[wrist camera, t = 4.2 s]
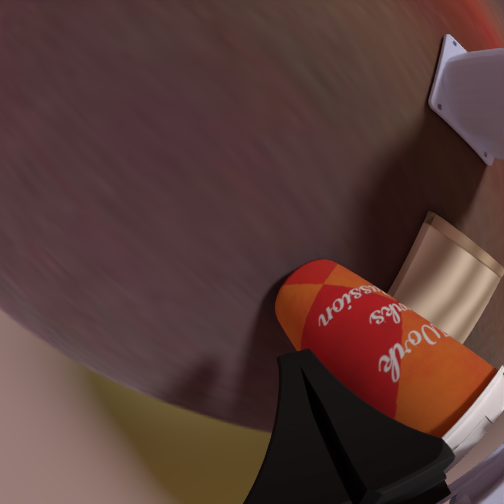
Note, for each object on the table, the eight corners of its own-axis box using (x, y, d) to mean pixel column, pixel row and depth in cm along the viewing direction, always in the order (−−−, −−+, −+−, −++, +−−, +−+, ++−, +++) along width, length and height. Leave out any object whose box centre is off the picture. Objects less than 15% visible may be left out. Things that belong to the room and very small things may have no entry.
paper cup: (369, 254, 19) (525, 367, 8) (325, 339, 21) (439, 465, 10) (286, 229, 16) (511, 411, 4) (239, 339, 18) (363, 529, 6)
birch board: (500, 266, 22) (505, 269, 21) (421, 389, 28) (424, 393, 27) (428, 210, 18) (435, 213, 17) (324, 386, 24) (327, 393, 23)
